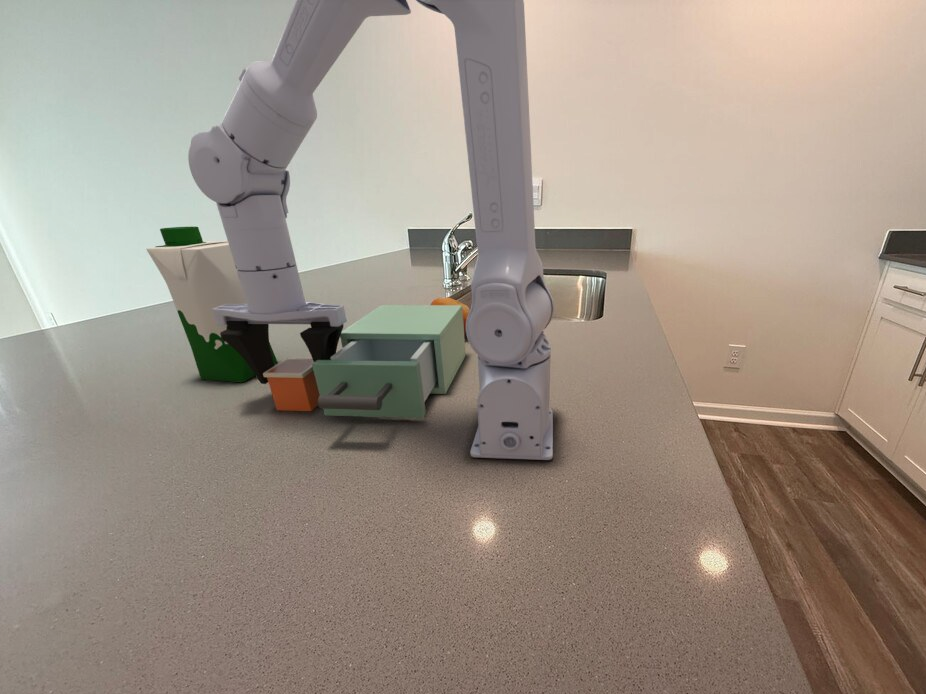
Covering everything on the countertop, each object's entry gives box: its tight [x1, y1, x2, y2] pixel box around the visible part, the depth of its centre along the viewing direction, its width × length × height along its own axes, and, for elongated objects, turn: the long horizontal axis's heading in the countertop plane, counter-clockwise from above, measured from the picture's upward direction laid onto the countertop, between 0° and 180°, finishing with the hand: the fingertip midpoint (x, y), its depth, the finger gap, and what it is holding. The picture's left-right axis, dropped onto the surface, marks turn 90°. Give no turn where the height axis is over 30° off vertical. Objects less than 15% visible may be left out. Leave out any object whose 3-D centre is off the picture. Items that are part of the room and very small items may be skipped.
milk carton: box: [146, 226, 279, 383], centre depth 56 cm, size 9×9×20 cm
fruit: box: [430, 296, 471, 337], centre depth 72 cm, size 8×8×8 cm
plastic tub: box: [263, 357, 320, 412], centre depth 50 cm, size 5×5×5 cm
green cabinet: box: [339, 304, 467, 395], centre depth 57 cm, size 14×13×8 cm
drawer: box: [312, 339, 438, 419], centre depth 48 cm, size 17×11×6 cm, turn 175°
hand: (298, 381), depth 50 cm, fingers open, 7 cm apart
